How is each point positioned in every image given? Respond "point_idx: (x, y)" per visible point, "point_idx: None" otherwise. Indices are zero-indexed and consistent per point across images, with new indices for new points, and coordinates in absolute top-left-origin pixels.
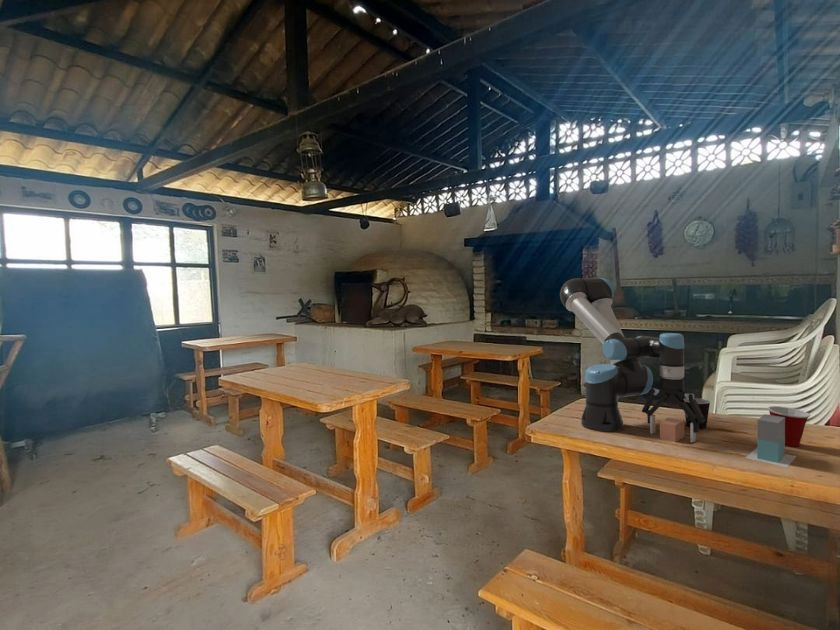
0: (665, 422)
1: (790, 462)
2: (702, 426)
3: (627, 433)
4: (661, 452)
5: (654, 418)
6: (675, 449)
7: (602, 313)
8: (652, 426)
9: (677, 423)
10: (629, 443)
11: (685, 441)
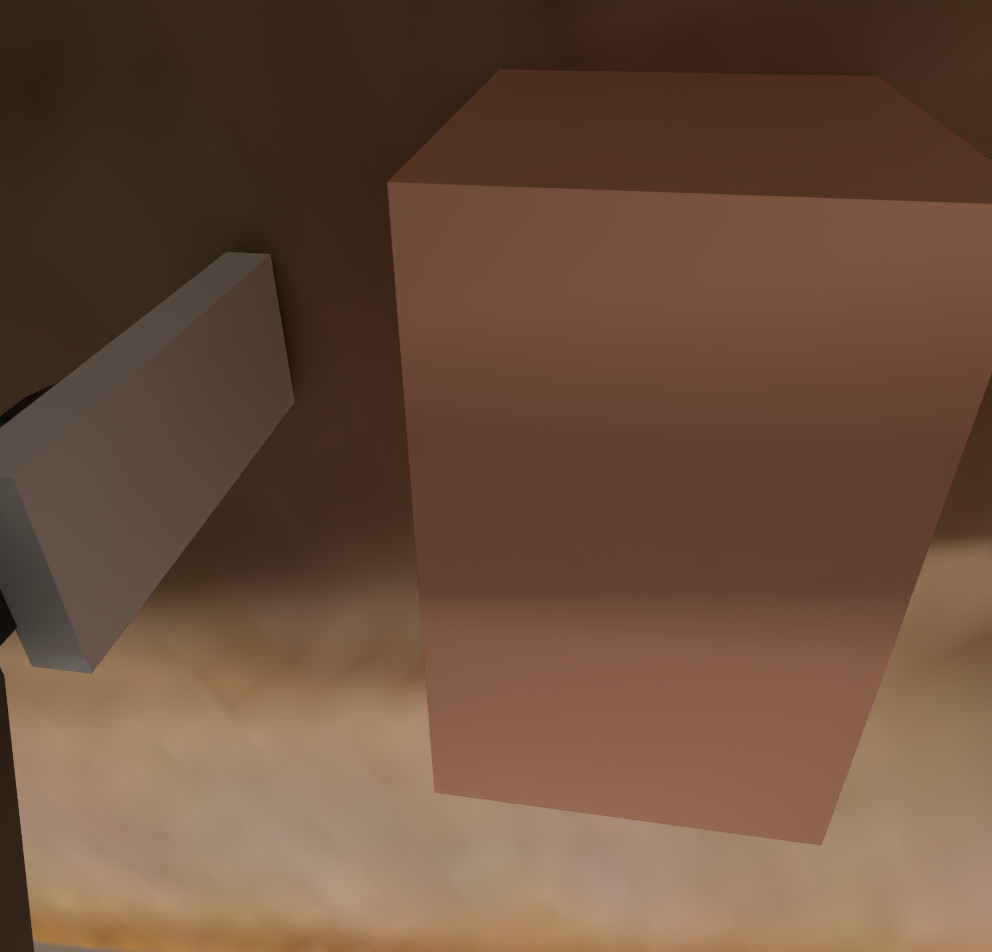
0: (545, 754)
1: None
2: None
3: None
4: (715, 932)
5: (105, 474)
6: (840, 810)
7: None
8: (227, 470)
9: (850, 704)
10: (324, 853)
11: None
